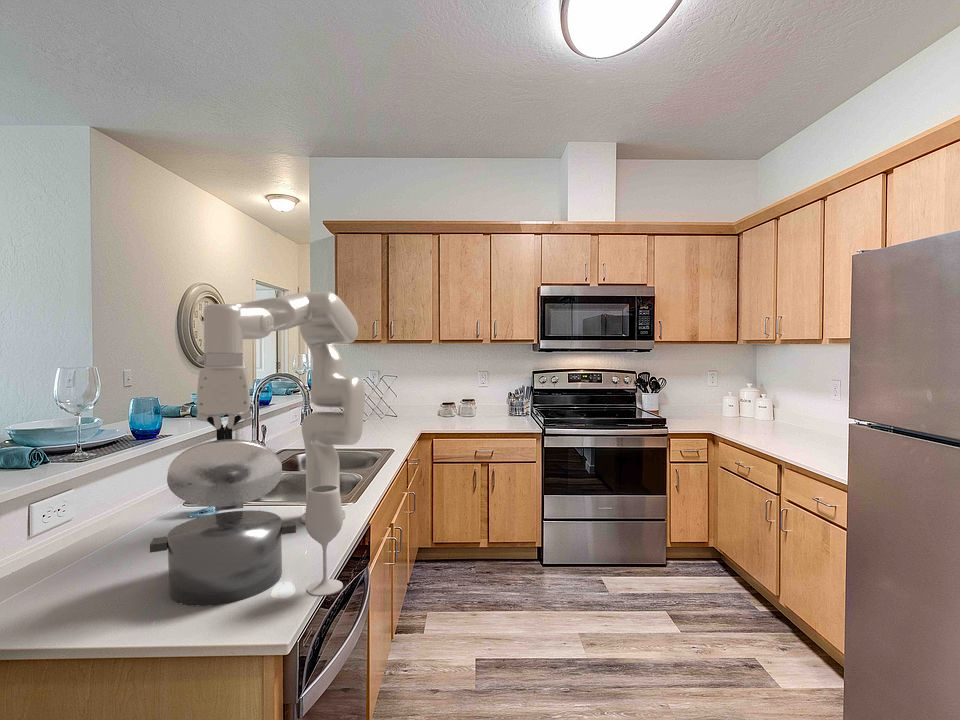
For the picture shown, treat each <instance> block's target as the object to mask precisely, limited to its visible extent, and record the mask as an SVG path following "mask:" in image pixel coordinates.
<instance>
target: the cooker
mask: <svg viewBox="0 0 960 720" xmlns="http://www.w3.org/2000/svg"><path fill="white" fill-rule="evenodd" d="M296 533H297V523H296V520H295V519H293V520H287V521H285V520H283V521H282V518H281V517H280V515H278V514H276V513H274V512H269V511H264V510H233V511H226V512H217V513H216V514H212V515H207V516H203V517H199V518H198V517H195V518H193V519H190V520H188V521H185V522H183V523H180V524H179V525H176V526H175V527H173V528H171V530H169V532H168V534H167V536H161V537H153V538H152V540H151V542H150V543H149V553H150V554H151V553H157V552H164V551H165V552H166V551H167V559H168V560H167V563H168V572H167V573H168V596H169V598H170V597H171V598H170V599H171V600H172V601H173V600H174V601H173V602H175V601H176V602H175V603H177V602H178V604H180V603H182V604H181V605H184V604H186V605H185V606H191V605H193V606H194V607H197V606H196V605H202V606H201V607H204V606H203V605H211V606H219V604H220V605H225V603H226V604H229V603H235V602H239V601H242V600H245V599H249V598H251V597H254V596H257V595H259V594H261V593H263V592H265V591H267V590H269V589H270V588H272V587H273V586H275V585H277V583H278V582H279V581H280V579H281V578H282V576H281V575H282V574H283V560H282V559H283V558H282V557H283V555H282V553H283V551H282V549H283V548H282V535H288V534H289V535H290V534H296Z"/></svg>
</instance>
